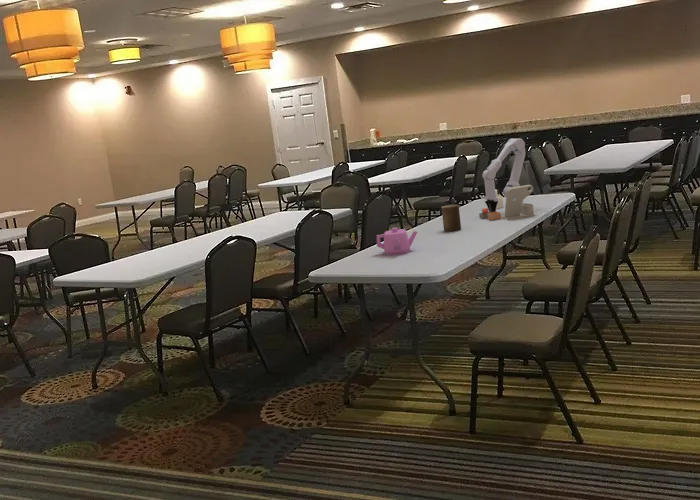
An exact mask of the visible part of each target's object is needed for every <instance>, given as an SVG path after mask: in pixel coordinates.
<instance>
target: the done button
mask: <svg viewBox="0 0 700 500" xmlns="http://www.w3.org/2000/svg"><path fill="white" fill-rule="evenodd" d="M488 212H489V210H488V207H487V208H481V213H483V214H485V213H488Z"/></svg>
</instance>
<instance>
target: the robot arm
mask: <svg viewBox="0 0 700 500" xmlns="http://www.w3.org/2000/svg"><path fill="white" fill-rule="evenodd" d="M525 146H526V143H525V141H524V139H522V138H509V139H508V140H507V142H506V143H505V144H504V147H503V148H502V150H501V152H500V153H499V155H498V156H497V157H496V158H495V159H493V160H491V161H490V162H491V163H490V164H489V165H488V167H486V169H485V170H484V171H483V172H482V175H481V177H482V178H483V181H484V189H485V190H484V191H485V196H484V198H483V199H484V203H485V204H486V207H487V208H488V212H490V208H489V205H490V207H491V212H496V210H497V209H496V206H497V203H498V198H497V197H496V194H495V189H496V185H495V184H496V183H495V178H496V175H497V172H499V169H500V168H501V167H502V166H503V164H502V162H503V161H504V160H505V159H506V158H507V156H508V155H510V154H509V153H511V152H513V153H514V155H515V156H514V161H513V165H512V169H511V173H510V177H509V180H508V182H506V185H505V187H504V188H503V194H504V196H506V194H507V190H508V189H509V188H513V187H518V186H521V184H520V183H519V182H520V177H521V174H522V173H521V172H522V169H523V167H524V162H525V158H526V148H525ZM516 199H517V197H516V196H514V197H513V198H512V200H513V201H515V200H516ZM521 204H524V199H523V200H522V202H521ZM520 212H521V210H520Z"/></svg>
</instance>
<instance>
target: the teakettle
mask: <svg viewBox="0 0 700 500" xmlns="http://www.w3.org/2000/svg"><path fill="white" fill-rule="evenodd" d="M417 234H418V231H415V230H413V232H412V233H411V235H410V236H409V237H408V233H407V231H406V229H404V228H402V229H401V228H400V229H399V228H398V227H393V228H391V230H385V231H384V233H382V234H377V235H376V247H378V248H380V249H382V250H384V252H385V254H386V256H395V255H396V254H397V255H403V254H402V253H405V254H408V253H407V252H409V253H410V249H411V246H412V244H413V242H414V240H415V238H416V236H417ZM381 238H383V242H381Z"/></svg>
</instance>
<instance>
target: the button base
mask: <svg viewBox="0 0 700 500" xmlns="http://www.w3.org/2000/svg"><path fill="white" fill-rule="evenodd" d="M488 213H490V212H489V211H488ZM478 214H479V215H478V217H479V219H482V220H487V219H488V214H487V213H485V214H483V213H482V212H480V213H478ZM486 218H487V219H486Z"/></svg>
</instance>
